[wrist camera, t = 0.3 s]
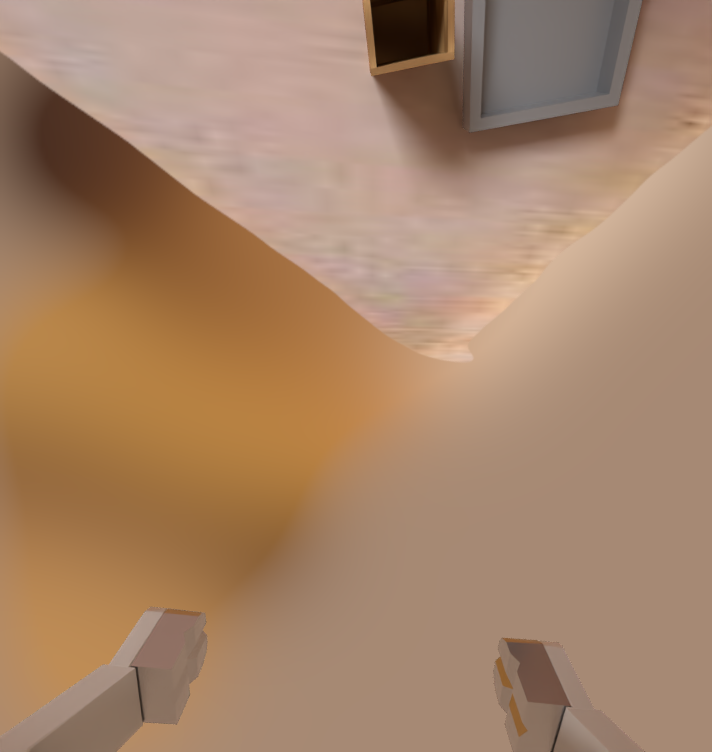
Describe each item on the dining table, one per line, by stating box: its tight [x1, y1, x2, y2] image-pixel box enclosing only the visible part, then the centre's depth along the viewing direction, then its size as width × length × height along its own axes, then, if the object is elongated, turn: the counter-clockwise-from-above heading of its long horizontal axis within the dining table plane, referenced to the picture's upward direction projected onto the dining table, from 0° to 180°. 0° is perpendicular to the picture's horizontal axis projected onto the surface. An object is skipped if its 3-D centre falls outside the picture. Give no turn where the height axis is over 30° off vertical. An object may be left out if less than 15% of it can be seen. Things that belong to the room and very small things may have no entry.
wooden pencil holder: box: [363, 0, 455, 76], centre depth 36 cm, size 6×7×14 cm
